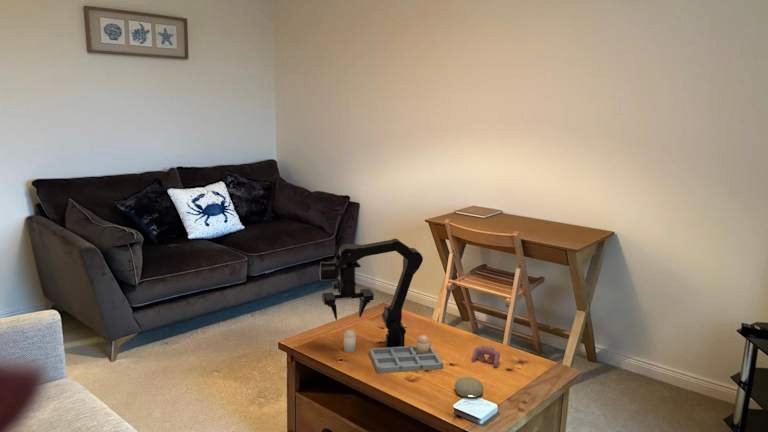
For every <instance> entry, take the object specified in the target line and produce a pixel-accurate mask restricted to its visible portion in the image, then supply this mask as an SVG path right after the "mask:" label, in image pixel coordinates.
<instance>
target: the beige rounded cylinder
mask: <svg viewBox="0 0 768 432" xmlns="http://www.w3.org/2000/svg"><path fill="white" fill-rule="evenodd" d="M429 345H430V338H429V336H427V335H425V334H421V335H419V336H418V337H417V340H416V346H417V352H416V355H421V354H429Z"/></svg>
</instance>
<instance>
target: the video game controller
mask: <svg viewBox="0 0 768 432" xmlns="http://www.w3.org/2000/svg"><path fill="white" fill-rule="evenodd" d="M485 355H487V356H488V357H487V358H486V356H485ZM500 357H501V353H500V352H499V351H498V350H497V349H496V348H494V347H491V346H487V345H483V346H482V345H480V346H477V347H476V348H475V349H474V350H473V352H472V357H471V363H475V362H476V361H477V359H478V360H479V361H480V362H484V361H487V363H489V364H493V368H494V367H495V368H494V369H496V368H497V367H498V365H499V363H500Z"/></svg>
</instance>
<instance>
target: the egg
mask: <svg viewBox="0 0 768 432" xmlns="http://www.w3.org/2000/svg"><path fill="white" fill-rule="evenodd" d="M356 344H357V335H356V331H355V330H352V329H347V330H345V331H344V333H343V351H344V352H346V353H353V352H355V351H356V350H357V349H356V347H357V346H356Z"/></svg>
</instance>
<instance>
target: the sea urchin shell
mask: <svg viewBox="0 0 768 432" xmlns="http://www.w3.org/2000/svg"><path fill="white" fill-rule="evenodd" d="M454 383H455V384H454V388H455V392H456V393H457V394H458V395H459V396H461V397H465V396H468V395H473V396H477V397H480V395H482V393H483V391H484V385H483V383H482V382H481V381H480V380H479V379H478V378H475V377H473V376H461V377H459V378H457V379H456V380H455V382H454Z"/></svg>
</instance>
